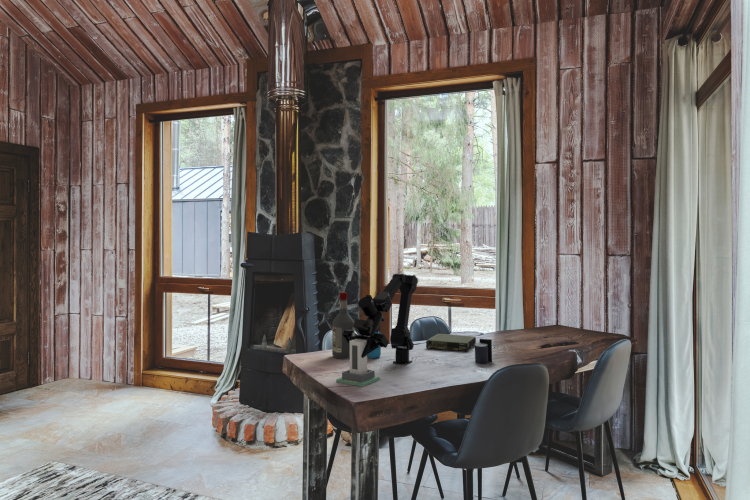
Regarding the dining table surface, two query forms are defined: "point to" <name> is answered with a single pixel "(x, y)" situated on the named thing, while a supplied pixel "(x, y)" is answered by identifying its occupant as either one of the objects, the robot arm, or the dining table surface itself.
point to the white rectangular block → (358, 357)
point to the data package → (375, 352)
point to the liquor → (341, 330)
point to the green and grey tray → (358, 378)
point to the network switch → (451, 342)
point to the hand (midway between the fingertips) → (356, 356)
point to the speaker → (483, 351)
